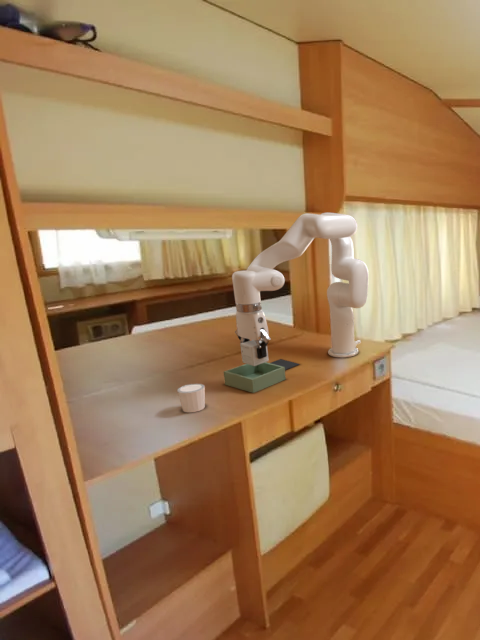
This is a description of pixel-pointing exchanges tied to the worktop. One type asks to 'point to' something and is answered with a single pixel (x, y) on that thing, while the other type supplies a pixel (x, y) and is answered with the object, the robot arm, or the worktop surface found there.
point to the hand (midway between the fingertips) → (255, 355)
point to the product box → (252, 353)
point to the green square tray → (254, 376)
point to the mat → (285, 363)
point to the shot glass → (192, 397)
